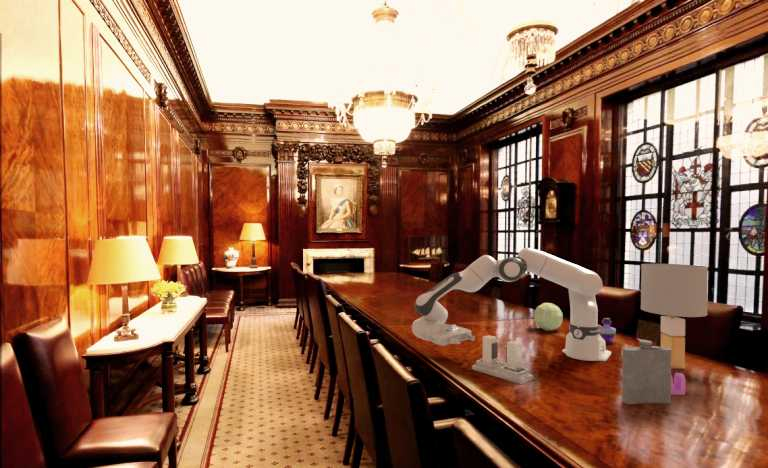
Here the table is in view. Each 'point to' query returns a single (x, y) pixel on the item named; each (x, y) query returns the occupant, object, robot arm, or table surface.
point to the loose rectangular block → (490, 350)
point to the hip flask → (646, 374)
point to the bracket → (678, 384)
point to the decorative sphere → (548, 316)
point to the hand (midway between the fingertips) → (466, 340)
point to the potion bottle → (607, 331)
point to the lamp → (674, 301)
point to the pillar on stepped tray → (513, 367)
